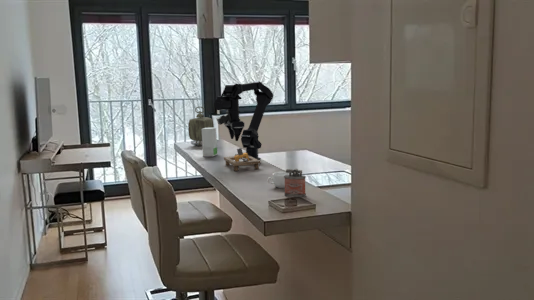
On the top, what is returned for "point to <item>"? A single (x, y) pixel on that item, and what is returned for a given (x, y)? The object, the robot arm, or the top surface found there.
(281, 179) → the teacup
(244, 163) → the wooden frame with rod
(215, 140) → the skincare box
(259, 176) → the top surface
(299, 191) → the lighter
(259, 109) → the robot arm
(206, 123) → the tabletop clock
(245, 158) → the silver metal rod
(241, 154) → the yellow block
